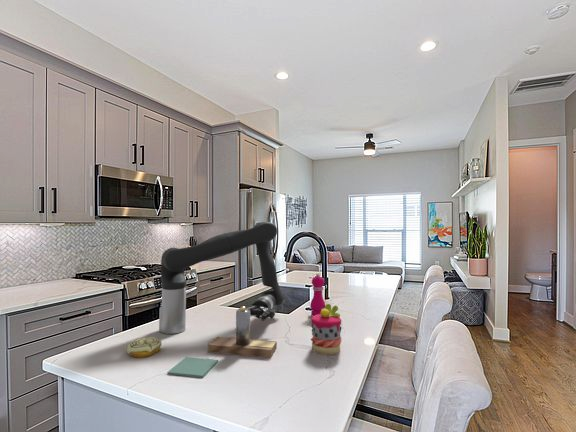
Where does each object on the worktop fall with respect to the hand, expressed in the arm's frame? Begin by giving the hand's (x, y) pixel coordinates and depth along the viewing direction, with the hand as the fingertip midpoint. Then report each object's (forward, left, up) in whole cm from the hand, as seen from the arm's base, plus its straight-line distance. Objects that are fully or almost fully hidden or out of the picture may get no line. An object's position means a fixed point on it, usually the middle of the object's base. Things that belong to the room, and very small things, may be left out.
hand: (251, 317), depth 123 cm
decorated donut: (-32, -18, -9) cm, 38 cm away
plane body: (0, -10, -9) cm, 13 cm away
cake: (+28, -3, -9) cm, 29 cm away
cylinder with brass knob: (0, -10, -6) cm, 11 cm away
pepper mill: (+21, +39, -9) cm, 45 cm away
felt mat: (-10, -26, -9) cm, 29 cm away
